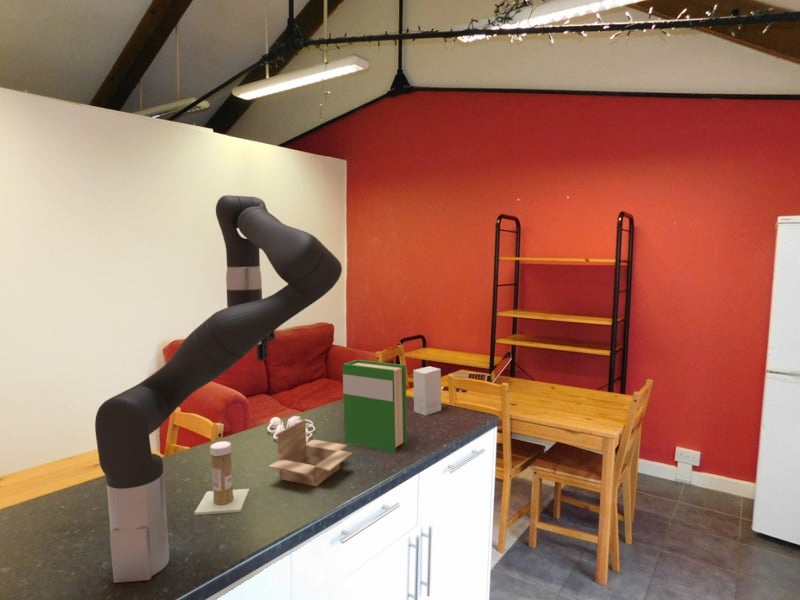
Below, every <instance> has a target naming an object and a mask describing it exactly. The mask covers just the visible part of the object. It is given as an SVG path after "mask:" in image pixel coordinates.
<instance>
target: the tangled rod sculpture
mask: <svg viewBox="0 0 800 600" xmlns="http://www.w3.org/2000/svg"><path fill="white" fill-rule="evenodd" d="M301 418H302V417H301V416H300V415H299V416H298V415H293V416H291V417H290V418H288V420H287V422H286V423H287V424H286V428H285V426H284V421H282V419H281V418H280V417H279V416H275V417H272V418H271V419H270V420H269V425H268V426H267V428H266V429H267V432H269V433H270V434H273V436H272V438H273V440H278V433H279V432H281V431H283V430H285V429H287V428H289V427H290V426H292V425H294V424H296V423H298V422H300V421H302V420H303V419H301ZM304 420H305V422H309V423H305V424H306V443H308V442H309V441H310V440H309V438H311V437H312V436H313V432H315V431H316V427H315V426H314V422H313V421H312V420H309V419H304ZM311 427H312V428H313V429H312V430H309V428H311ZM270 428H271V429H273V430H271V429H270Z"/></svg>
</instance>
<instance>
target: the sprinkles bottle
mask: <svg viewBox="0 0 800 600" xmlns="http://www.w3.org/2000/svg"><path fill="white" fill-rule="evenodd" d="M209 449H210V450H209V451H210V452H209V453H210V458H211V479H212V480H211V481H212V491H213V494H214V499H213V502H214V503H216V504H226V503H229V502H230V501H232V500H233V498H234V496H233V490H234V489H233V488H234V487H233V485H234V484H233V469H232V455H231V453H232V443H231V442H230V441H224V440H223V441H217V442H214V443H212V444H211V445H210V447H209Z"/></svg>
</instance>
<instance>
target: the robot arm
mask: <svg viewBox="0 0 800 600" xmlns="http://www.w3.org/2000/svg"><path fill="white" fill-rule="evenodd" d="M215 216H216V219H217V222H218V224H219V225H218V226H219V227H220V231H221V234H222V237H223V240H224V245H225V254H226V256H225V257H226V274H225V282H226V284H225V285H226V306H227V307H225V308H222V309H220V310H218V311H216V312H214V313H213V314H211V315H210V316H209V317H208V318H207V319H206V320H204V321H203V322H202V323H201V324H199V325H198V326H197V327H196V328H195V329H194V330H193V331H192V332H191V333H189V335H188V336H187V337H186V338H185V339H184V340H183V342H181V344H180V345H179V346H178V348H177V350H175V352H174V353H173V355H172V356H171V358H170V359H169V360H168V361H167V362H166V363H165V364H164V365H163V366H162V367H160V368H159V369H158V370H157V371H155V372H154V373H153V374H151V375H150V376H149V377H147V378H146V379H144V380H142V381H141V382H140V383H138V384H136V385H134V386H132V387H130V388H128V389H126V390H124V391H122V392H121V393H119V394H116V395H114V396H112V397H110V398H109V399H107V400H105V401H104V402H103V403H102V404H100V406H99V407H98V409H97V411H96V414H95V423H94V430H95V440H96V446H97V454H98V461H99V466H100V469H101V471H102V472H103V474H104V476H105V479H106V490H107V491H106V492H107V503H108V505H107V506H108V507H107V508H108V516H109V519H108V520H109V529H110V530H109V531H110V532H109V538H110V539H109V540H110V551H111V565H112V577H113V583H115V584H117V583H127V582H131V583H132V582H141V581H150V580H151V579H152V577H153V576H154V575H156V574H158V573H159V572H161V571H163V570H164V569H165V567H167V566H168V565H169V562H170V552H169V551H170V550H169V549H170V548H169V537H168V523H167V522H168V521H167V508H166V507H167V504H166V492H165V474H164V473H165V472H164V461H163V457H161V456H160V455H159V454H156V453H153V452H152V447H151V439H150V435H151V434H152V433H154V432H155V431H157V430H158V429H159V428H160V427H161V426H162V424H164V422H165V421H166V420H168V418H169V417H170V416H171V415H172V414H173V413H174V412H175V411H176V410H177V409H178V407H180V406H181V405H182V404H183V402H185V400H187V399H188V398H189V397H190V396H192V394H194V393H195V392H196V391H198V390H199V389H201V388H203V387H205V386H206V385H207V384H209V383H211V382H212V381H214V380H215V379H217V378H218V377H219V376H221V375H222V374H224V373H225V372H226V371H228V370H229V369H230V368H231V367H233V366H234V365H235V364H236V363H238V362H239V361H240V360H241V359H242V358H243V357H245V356H246V355H247V354H248V353H249V352H251V351H252V350H253V349H254V348H255V347H256V359H257V361H258V362H263V361H266V360H267V358H268V343H269V342H272V341H275V340H276V336H275V335H276V333H275V331H276V330H277V329H278V328H280V326H282V325H283V324H284V323H285V324H286V322H287V321H289V320H290V319H292V318H293V317H296V316H297V315H298V314H299V313H301V312H303V311H304V310H305V309H307V308H308V307H310V306H311V305H312V304H314V303H316V302H317V301H319V300H320V299H321V298H322V297H324V296H325V295H327V294H328V292H329V291H330V290H332V289H333V288H334V286H335V285H336V284H337V283H338V281H339V279H340V278H341V275H342V270H343V266H342V264H341V262H340V260H339V259H338V258H337V257H336V256H335V255H334V254H333V252H332V251H330V249H328V248H327V247H326V246H325V245H324V244H323V243H322V242H321V241H320V240H319V239H318V238H317V237H316V236H314V235H313V234H311V233H309V232H307V231H305V230H301V229H298V228H296V227H292V226H290V225H286V224H285V223H284V222H281V220H279V219H278V218H277V217H276V216H274V215H273V214H272V213H270V212H269V211H268V209H267V206H266V203H265V201H264V200H262V199H261V198H259V197H256V196H246V195H230V194H226V195H222V196H221V197H220V198H219V199H218V200H217V202H216V205H215ZM238 229H239V230H238ZM239 232H240V233H241V234H242V235H243V236H244V237H243V236H242V235H241V234H240V233H239ZM260 250H261V251H262V252H263V253H264V254H265V256H266V257H267V260H268V261H269V263H270V265H271V266H272V268H273V270H274V271H275V272H276V274H277V275H278V277H280V278H281V280H283V281H284V282H286V284H287V285H285V286H284V287H282V288H281V289H279V290H278V291H276V292H275V293H273V294H271V295H269V296H267V297H264V298H263V289H262V288H263V285H262V284H263V281H262V272H261V263H260V262H261V261H260V259H261V258H260V256H261V255H260Z"/></svg>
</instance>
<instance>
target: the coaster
mask: <svg viewBox="0 0 800 600" xmlns="http://www.w3.org/2000/svg"><path fill="white" fill-rule="evenodd" d="M249 494H250V488H241V489H238V488H237V489H233V496H234V498H233V500H232V501H230V502H229V503H226V504H216V503H214V502H213V499H214V494H213V490H210V491H208V490H207V491H206V492H205V494H204V496H203V498H202V499H201V501H200V502H199V504H198V506H197V507H196V509H195V510H194V512H193V513H194V516H200V515H201V516H202V515H211V514H212V515H215V514H231V513H232V514H233V513H242V510H243V507H244V506H245V502H246V500H247V499H248V495H249Z"/></svg>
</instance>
